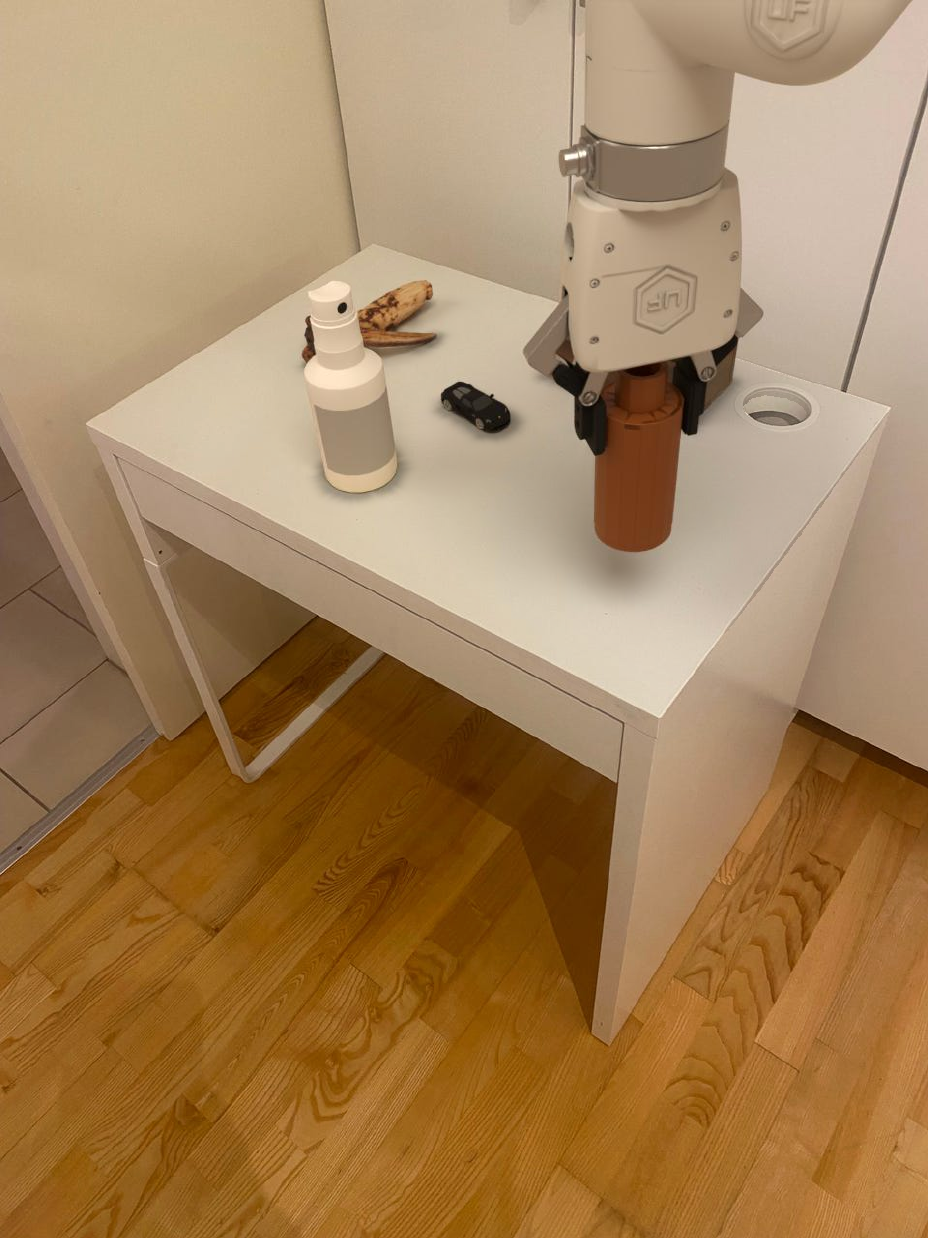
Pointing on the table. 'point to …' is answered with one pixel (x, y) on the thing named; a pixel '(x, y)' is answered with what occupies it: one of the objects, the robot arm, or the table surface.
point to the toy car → (476, 406)
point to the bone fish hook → (386, 319)
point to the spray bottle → (348, 396)
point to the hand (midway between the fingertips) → (638, 431)
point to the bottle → (638, 459)
